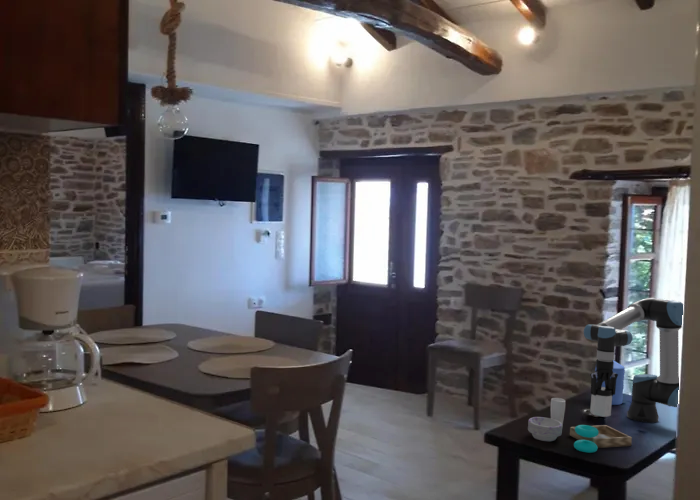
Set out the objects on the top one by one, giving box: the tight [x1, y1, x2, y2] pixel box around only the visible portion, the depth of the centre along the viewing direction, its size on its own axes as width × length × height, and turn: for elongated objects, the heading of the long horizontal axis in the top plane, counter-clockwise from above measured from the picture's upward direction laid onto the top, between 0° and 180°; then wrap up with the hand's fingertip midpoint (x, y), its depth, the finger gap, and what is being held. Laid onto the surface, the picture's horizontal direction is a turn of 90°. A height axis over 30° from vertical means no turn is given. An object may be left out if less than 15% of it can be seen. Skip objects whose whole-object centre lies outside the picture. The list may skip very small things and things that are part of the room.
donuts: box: [573, 424, 599, 454], centre depth 299 cm, size 10×10×10 cm
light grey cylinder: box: [550, 397, 566, 427], centre depth 326 cm, size 7×7×15 cm
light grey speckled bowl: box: [527, 416, 563, 442], centre depth 312 cm, size 15×15×8 cm
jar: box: [589, 387, 613, 418], centre depth 312 cm, size 9×8×12 cm
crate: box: [569, 424, 633, 449], centre depth 313 cm, size 20×18×4 cm
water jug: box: [594, 359, 626, 406], centre depth 384 cm, size 16×16×28 cm
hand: (601, 409), depth 312 cm, fingers closed on jar, 4 cm apart
